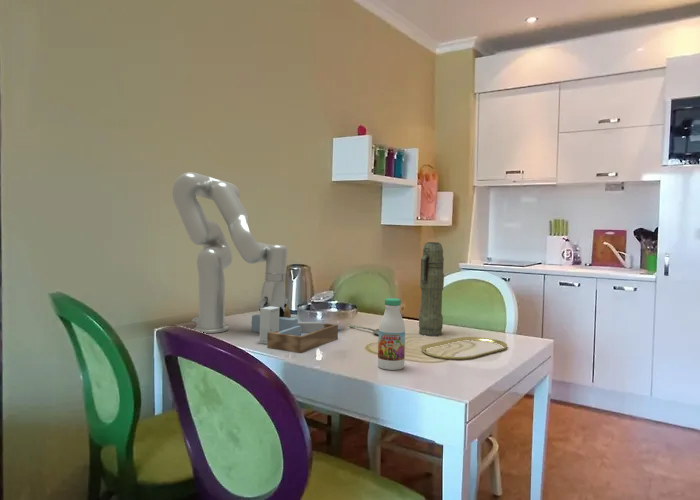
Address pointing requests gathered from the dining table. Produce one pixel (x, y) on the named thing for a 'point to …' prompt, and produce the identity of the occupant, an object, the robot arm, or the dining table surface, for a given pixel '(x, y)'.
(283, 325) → the crook
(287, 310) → the natural sponge
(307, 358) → the dining table surface
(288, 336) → the wooden u-shaped tray
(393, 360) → the milk bottle
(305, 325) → the grey plastic stick
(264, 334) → the skincare box
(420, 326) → the thermos
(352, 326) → the soupspoon
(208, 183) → the robot arm
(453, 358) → the serving platter
